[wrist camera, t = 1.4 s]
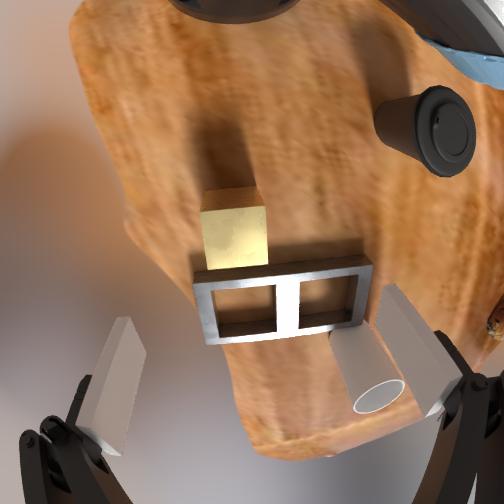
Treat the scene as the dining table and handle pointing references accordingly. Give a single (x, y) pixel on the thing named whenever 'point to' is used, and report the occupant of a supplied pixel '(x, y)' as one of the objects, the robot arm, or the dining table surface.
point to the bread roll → (497, 323)
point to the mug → (365, 368)
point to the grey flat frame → (283, 298)
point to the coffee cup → (430, 129)
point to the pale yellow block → (234, 227)
